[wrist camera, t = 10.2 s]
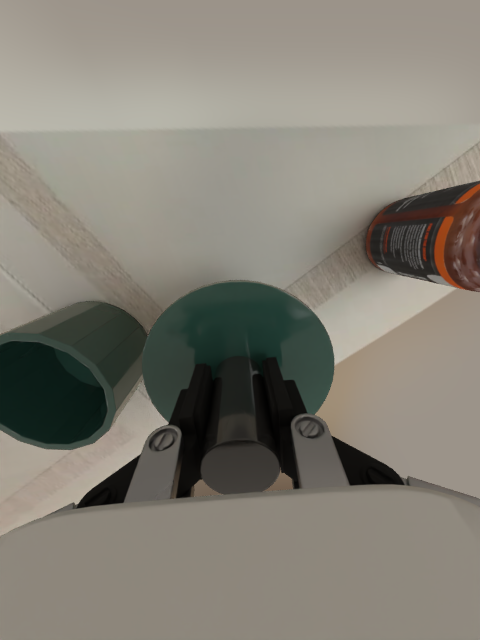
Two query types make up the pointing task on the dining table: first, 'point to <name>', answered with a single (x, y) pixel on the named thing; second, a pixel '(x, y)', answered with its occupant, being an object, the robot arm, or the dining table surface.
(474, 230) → the supplement bottle
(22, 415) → the pot
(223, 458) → the lid
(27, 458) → the dining table surface
